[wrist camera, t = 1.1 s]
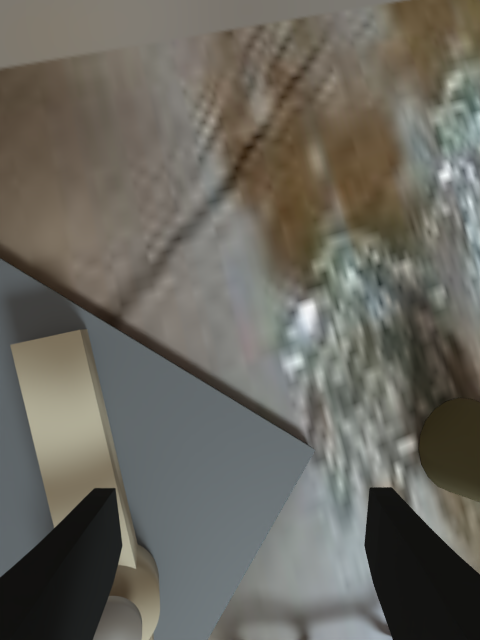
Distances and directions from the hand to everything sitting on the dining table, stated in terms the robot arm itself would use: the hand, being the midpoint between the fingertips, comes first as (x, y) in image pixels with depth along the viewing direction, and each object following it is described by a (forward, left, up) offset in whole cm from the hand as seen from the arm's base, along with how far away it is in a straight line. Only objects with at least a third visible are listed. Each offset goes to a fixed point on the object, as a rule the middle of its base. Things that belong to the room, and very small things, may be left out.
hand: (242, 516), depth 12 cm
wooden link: (-5, +3, -11) cm, 13 cm away
